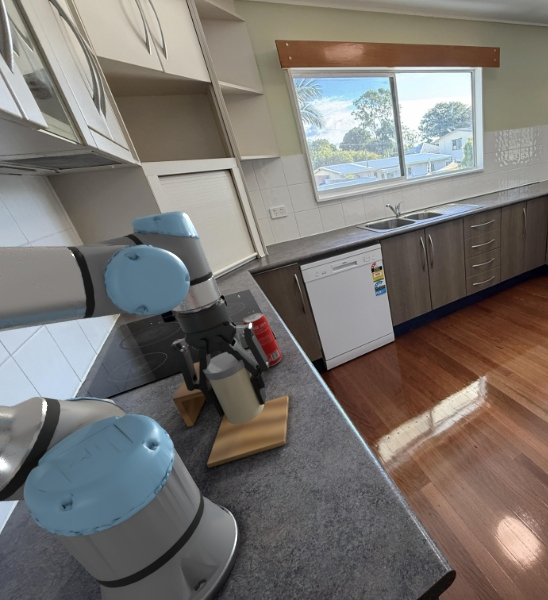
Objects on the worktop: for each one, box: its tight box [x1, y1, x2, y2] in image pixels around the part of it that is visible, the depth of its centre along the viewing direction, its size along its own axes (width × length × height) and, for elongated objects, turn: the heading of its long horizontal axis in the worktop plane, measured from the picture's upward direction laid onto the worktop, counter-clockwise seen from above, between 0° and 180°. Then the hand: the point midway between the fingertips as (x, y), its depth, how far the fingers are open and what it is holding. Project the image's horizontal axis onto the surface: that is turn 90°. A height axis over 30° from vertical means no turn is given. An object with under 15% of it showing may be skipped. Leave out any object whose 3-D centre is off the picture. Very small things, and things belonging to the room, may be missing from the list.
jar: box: [203, 352, 264, 425], centre depth 62 cm, size 7×7×12 cm
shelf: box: [172, 361, 210, 428], centre depth 75 cm, size 14×12×8 cm
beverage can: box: [242, 311, 283, 367], centre depth 86 cm, size 6×6×15 cm
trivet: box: [206, 395, 290, 469], centre depth 66 cm, size 14×14×1 cm
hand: (243, 405), depth 63 cm, fingers closed on jar, 7 cm apart
